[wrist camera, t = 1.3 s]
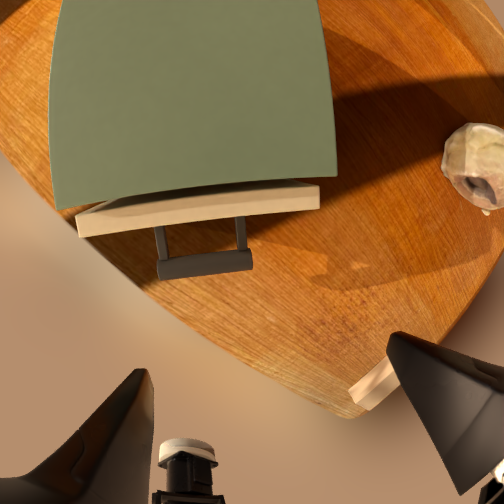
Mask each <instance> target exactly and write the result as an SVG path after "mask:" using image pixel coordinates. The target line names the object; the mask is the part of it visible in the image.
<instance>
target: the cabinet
mask: <svg viewBox="0 0 504 504" xmlns="http://www.w3.org/2000/svg"><path fill="white" fill-rule="evenodd" d="M48 140H49V157H50V169H51V178H52V186H53V194H54V201H55V207H56V210H62V209H67V208H71V207H76V206H81V205H85V204H90V203H95V202H100V201H106V200H111V199H116V198H122V197H128V196H134V195H140V194H146V193H152V192H159V191H166V190H173V189H180V188H188V187H196V186H205V185H214V184H223V183H233V182H244V181H256V180H270V179H285V178H304V177H331V176H337V175H338V174H337V151H336V134H335V121H334V109H333V99H332V89H331V81H330V73H329V65H328V58H327V51H326V45H325V39H324V33H323V27H322V22H321V17H320V12H319V7H318V2H317V0H63V1H62V4H61V8H60V13H59V17H58V22H57V27H56V32H55V38H54V44H53V51H52V58H51V67H50V78H49V95H48Z"/></svg>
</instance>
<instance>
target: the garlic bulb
mask: <svg viewBox="0 0 504 504" xmlns="http://www.w3.org/2000/svg"><path fill="white" fill-rule="evenodd" d="M441 169H442V171H443V173H444V176H445V177H447V178H448V179H449V180H450V182H451V183H452V185H453V187H454V188H455V189H456V190H457V191H458V193H459V194H460V195H461V196H462V197H464V198H465V199H467V200H468V201H469V202H471V203H472V204H474V205H475V206H478V207H480V208H482V212H483V213H484V214H485V215H486V216H488V215H489V214H490V210H496V209H500V208H503V207H504V130H503V129H501V128H499V127H497V126H494V125H490V124H485V123H467V124H465V125H464V126H463V127H461V128H459V129H457V130H456V131H455V132H454V133H453V134H452V135H451V136H450V137H449V138H448V139H447V141H446V142H445V151H444V155H443V159H442V165H441Z"/></svg>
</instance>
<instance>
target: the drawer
mask: <svg viewBox="0 0 504 504" xmlns="http://www.w3.org/2000/svg"><path fill="white" fill-rule="evenodd" d="M319 208H320V194H319V186H318V185H313V184H309V183H304V182H300V181H295V180H291V179H286V178H285V179H270V180H256V181H244V182H233V183H223V184H214V185H205V186H196V187H188V188H180V189H173V190H166V191H159V192H152V193H146V194H140V195H134V196H128V197H122V198H116V199H111V200H109V201H107V202H104V203H102V204H100V205H97V206H95V207H93V208H91V209H89V210H86V211H84V212H82V213H80V214H78V215H76V223H77V228H78V233H79V237H80V238H83V237H89V236H95V235H101V234H108V233H114V232H121V231H127V230H134V229H141V228H148V227H154V231H155V237H156V243H157V249H158V254H159V259H158V260H157V272H158V277H159V279H160V280H161V281H162V280H171V279H180V278H188V277H197V276H205V275H213V274H221V273H229V272H237V271H245V270H252V269H253V260H252V253H251V250H250V248H248V247H247V235H246V222H245V216H246V215H256V214H266V213H277V212H288V211H299V210H311V209H319ZM228 217H235V228H236V239H237V248H238V249H237V250H229V251H220V252H212V253H204V254H196V255H187V256H179V257H171V258H169V250H168V244H167V238H166V231H165V225H170V224H178V223H185V222H193V221H202V220H210V219H219V218H228Z"/></svg>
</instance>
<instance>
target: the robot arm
mask: <svg viewBox="0 0 504 504" xmlns="http://www.w3.org/2000/svg"><path fill="white" fill-rule="evenodd" d="M386 354H387V356H388V359H389V361H390V363H391V365H392V367H393V369H394V371H395V374H396V376H397V378H398V380H399V382H400V384H401V386H402V388H403V389H404V391H405V393H406V395H407V396H408V398H409V400H410V402H411V403H412V405H413V406H414V408H415V410H416V412H417V413H418V416H419V417H420V419H421V421H422V423H423V425H424V426H425V428H426V430H427V432H428V433H429V435H430V437H431V439H432V441H433V443H434V445H435V447H436V449H437V451H438V453H439V454H440V456H441V459H442V461H443V463H444V465H445V467H446V469H447V471H448V473H449V475H450V477H451V479H452V481H453V483H454V485H455V487H456V490H457V492H458V494H459V495H460V496H461V495H462V494H464V493H465V492H466V491H468V490H469V489H470V488H472V487H473V486H474V485H475V484H476V483H477V482H479V481H480V480H481V479H482V478H484V477H485V476H486V475H487V474H488V473H489V472H490V473H491V474H492V475H493V478H492V479H491V480H490V481H489V482H488V483H487V484H486V485H485V486H484V487H482V488H481V492H480V497H479V502H478V504H504V367H501V366H497V365H494V364H490V363H487V362H484V361H481V360H478V359H475V358H473V357H472V358H471V357H469V356H467V355H464V354H461V353H459V352H456V351H453V350H450V349H447V348H445V347H442V346H440V345H437V344H434V343H431V342H429V341H426V340H423V339H421V338H418V337H415V336H413V335H410V334H407V333H405V332H402V331H397V332H394V333H392V334H391V335H390V338H389V342H388V345H387V349H386ZM153 431H154V388H153V384H152V381H151V378H150V375H149V372H148V370H147V369H144V368H142V369H134V370H133V371H132V373H131V374H130V375H129V376H128V377H127V378H126V379H125V380H124V381H123V382H122V383H121V384H120V385H119V386H118V387H117V388H116V389H115V391H114V392H113V393H112V394H111V395H110V396H109V397H108V398H107V399H106V400H105V401H104V402H103V403H102V404H101V405H100V406H99V407H98V408H97V410H96V411H95V412H94V413H93V414H92V415H91V416H90V417H89V418H88V419H87V420H86V421H85V422H84V423H83V424H82V425H81V427H80V428H79V430H77V431H76V432H75V433H74V434H73V435H72V436H71V437H70V438H69V439H68V440H67V441H66V442H65V443H64V444H63V445H62V446H61V447H60V448H59V449H57V450H56V451H55V452H54V453H53V454H52V455H50V456H49V457H48V458H47V459H46V460H44V461H43V462H42V463H41V464H40V465H38V466H37V467H36V468H35V469H33V470H32V471H31V472H29V473H28V474H26V475H23V476H20V477H12V478H0V504H148V495H149V477H150V464H151V453H152V442H153V433H154V432H153ZM158 466H159V467H161V468H164V469H167V492H165V491H161V490H157V492H156V493H152V504H161V503H163V504H225V500H224V496H223V495H213V492H212V485H213V482H212V471H211V469H213V468H215V467H217V466H218V462H215V461H212V460H209V459H206V458H203V457H200V456H197V455H194V454H191V453H188V452H185V451H178V452H176V453H175V454H173V455H171V456H169V457H168V458H166V459H164V460H162V461H161V462H159V463H158Z"/></svg>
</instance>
